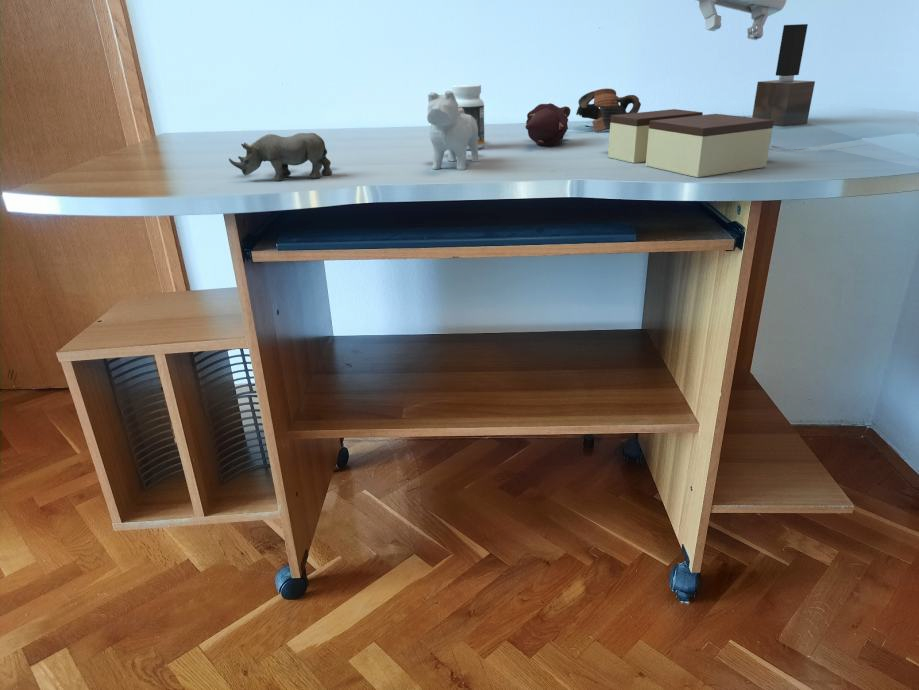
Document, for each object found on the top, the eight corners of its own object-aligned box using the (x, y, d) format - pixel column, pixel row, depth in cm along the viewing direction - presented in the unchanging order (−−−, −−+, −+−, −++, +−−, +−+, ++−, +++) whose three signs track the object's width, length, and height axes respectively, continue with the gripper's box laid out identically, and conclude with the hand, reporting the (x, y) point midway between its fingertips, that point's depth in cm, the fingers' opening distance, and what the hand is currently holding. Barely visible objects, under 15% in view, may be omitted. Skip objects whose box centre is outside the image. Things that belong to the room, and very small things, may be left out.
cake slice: (697, 154, 96) (703, 112, 93) (633, 163, 91) (637, 119, 89) (670, 149, 101) (674, 109, 98) (607, 157, 96) (610, 115, 94)
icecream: (553, 110, 98) (589, 109, 110) (512, 97, 101) (552, 97, 113) (540, 155, 102) (577, 149, 113) (501, 141, 104) (541, 136, 116)
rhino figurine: (235, 178, 91) (227, 134, 89) (332, 172, 93) (327, 129, 90) (230, 184, 88) (222, 139, 85) (331, 178, 89) (326, 133, 87)
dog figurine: (421, 174, 90) (415, 93, 85) (449, 158, 100) (446, 85, 96) (457, 175, 88) (453, 92, 83) (482, 158, 99) (480, 84, 94)
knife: (790, 122, 116) (808, 24, 109) (778, 124, 114) (795, 24, 107) (779, 121, 117) (796, 24, 111) (767, 123, 116) (783, 24, 109)
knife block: (806, 129, 115) (815, 81, 111) (782, 132, 112) (790, 83, 109) (773, 125, 120) (781, 79, 117) (750, 128, 118) (757, 81, 115)
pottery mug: (579, 135, 120) (571, 93, 121) (584, 151, 129) (577, 112, 130) (644, 117, 117) (635, 74, 118) (645, 134, 126) (637, 94, 127)
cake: (766, 167, 86) (774, 120, 83) (697, 177, 81) (703, 128, 79) (710, 156, 94) (716, 113, 91) (645, 165, 89) (649, 120, 87)
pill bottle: (449, 150, 107) (446, 87, 103) (454, 145, 112) (451, 84, 108) (482, 150, 106) (481, 86, 102) (486, 144, 111) (485, 83, 107)
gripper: (701, -84, 93) (702, 14, 94) (794, -54, 102) (795, 35, 103) (669, -61, 99) (670, 31, 99) (760, -34, 108) (761, 50, 108)
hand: (734, 34), depth 101 cm, fingers open, 8 cm apart
